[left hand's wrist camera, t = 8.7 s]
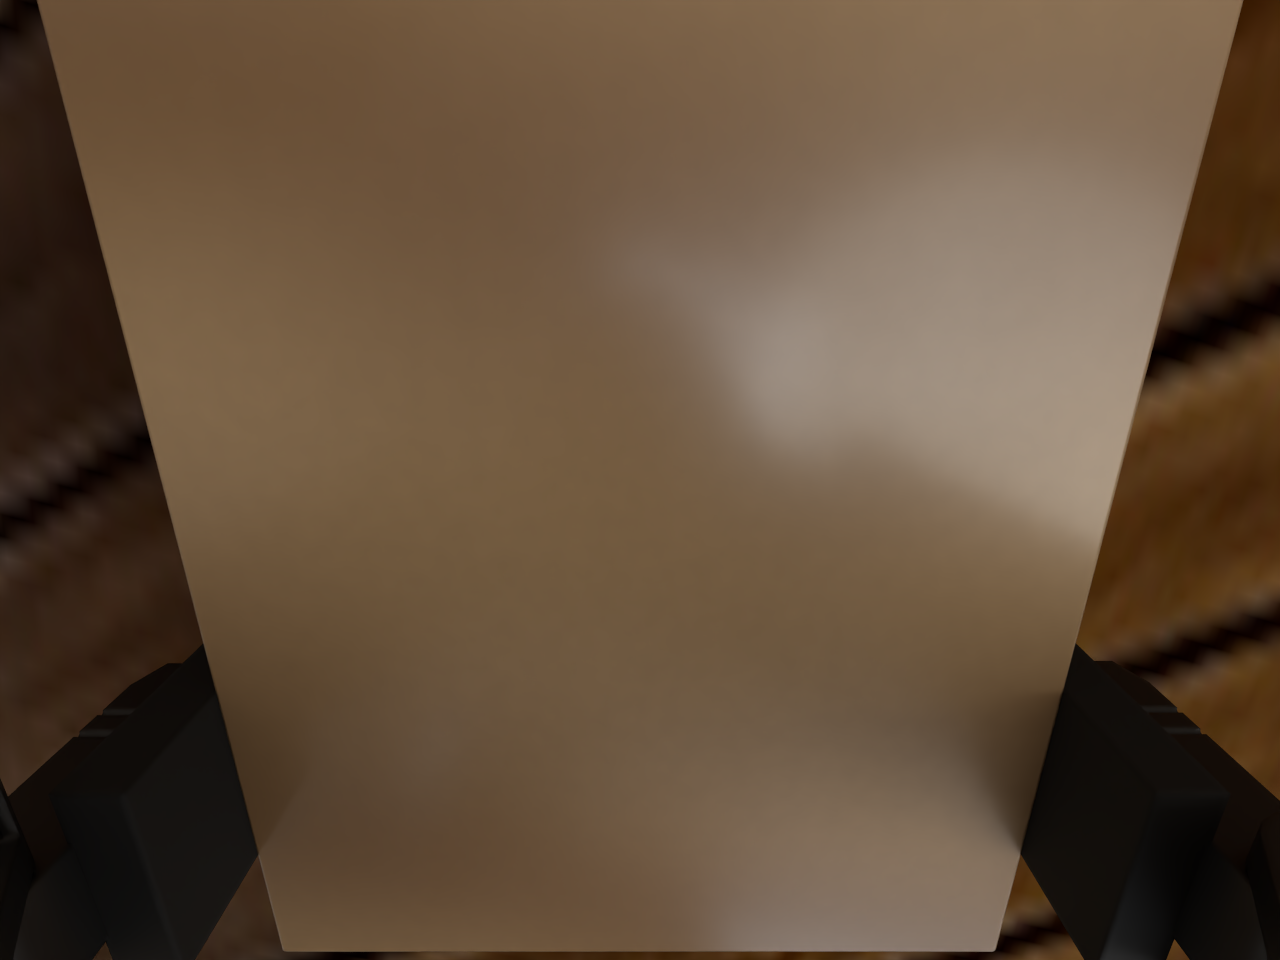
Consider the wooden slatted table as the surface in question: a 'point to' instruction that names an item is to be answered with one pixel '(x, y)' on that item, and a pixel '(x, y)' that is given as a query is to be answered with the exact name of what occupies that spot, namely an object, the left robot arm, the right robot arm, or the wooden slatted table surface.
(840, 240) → the cabinet
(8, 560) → the wooden slatted table surface
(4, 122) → the wooden slatted table surface
